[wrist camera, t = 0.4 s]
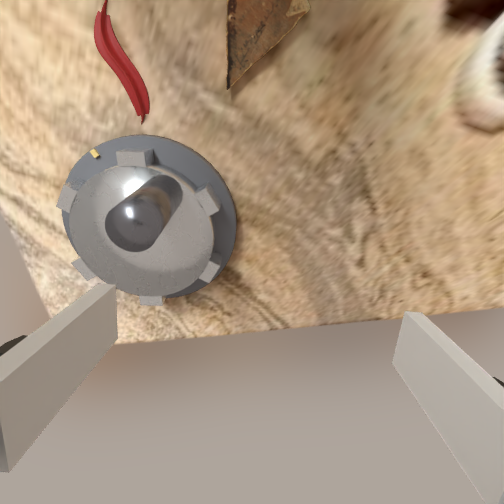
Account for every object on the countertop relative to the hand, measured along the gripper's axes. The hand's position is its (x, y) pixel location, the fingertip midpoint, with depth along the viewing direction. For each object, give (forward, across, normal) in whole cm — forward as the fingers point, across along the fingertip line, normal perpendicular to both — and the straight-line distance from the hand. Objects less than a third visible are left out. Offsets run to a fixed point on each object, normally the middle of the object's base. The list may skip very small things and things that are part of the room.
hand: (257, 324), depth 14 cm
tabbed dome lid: (+24, -13, -2) cm, 28 cm away
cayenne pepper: (+24, -16, +16) cm, 33 cm away
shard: (+24, -1, +20) cm, 31 cm away
